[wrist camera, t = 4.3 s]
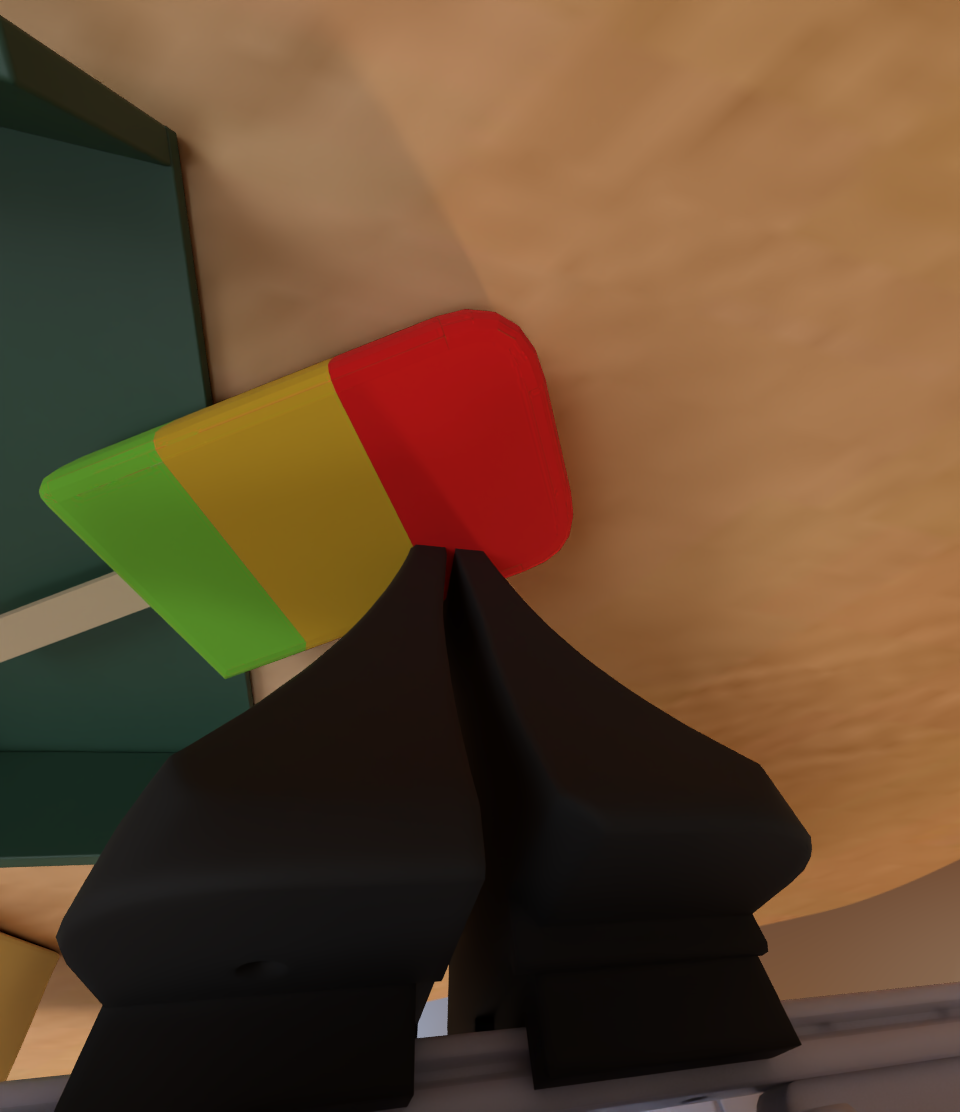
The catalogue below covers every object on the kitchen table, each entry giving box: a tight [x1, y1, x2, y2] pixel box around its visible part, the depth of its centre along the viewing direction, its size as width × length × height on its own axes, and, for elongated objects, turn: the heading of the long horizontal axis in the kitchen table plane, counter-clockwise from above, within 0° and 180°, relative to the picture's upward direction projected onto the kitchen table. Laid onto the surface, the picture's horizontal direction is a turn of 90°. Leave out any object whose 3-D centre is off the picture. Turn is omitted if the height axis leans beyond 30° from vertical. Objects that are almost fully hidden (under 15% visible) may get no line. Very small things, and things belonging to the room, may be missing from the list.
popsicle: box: [0, 309, 573, 679], centre depth 9 cm, size 6×15×2 cm, turn 108°
